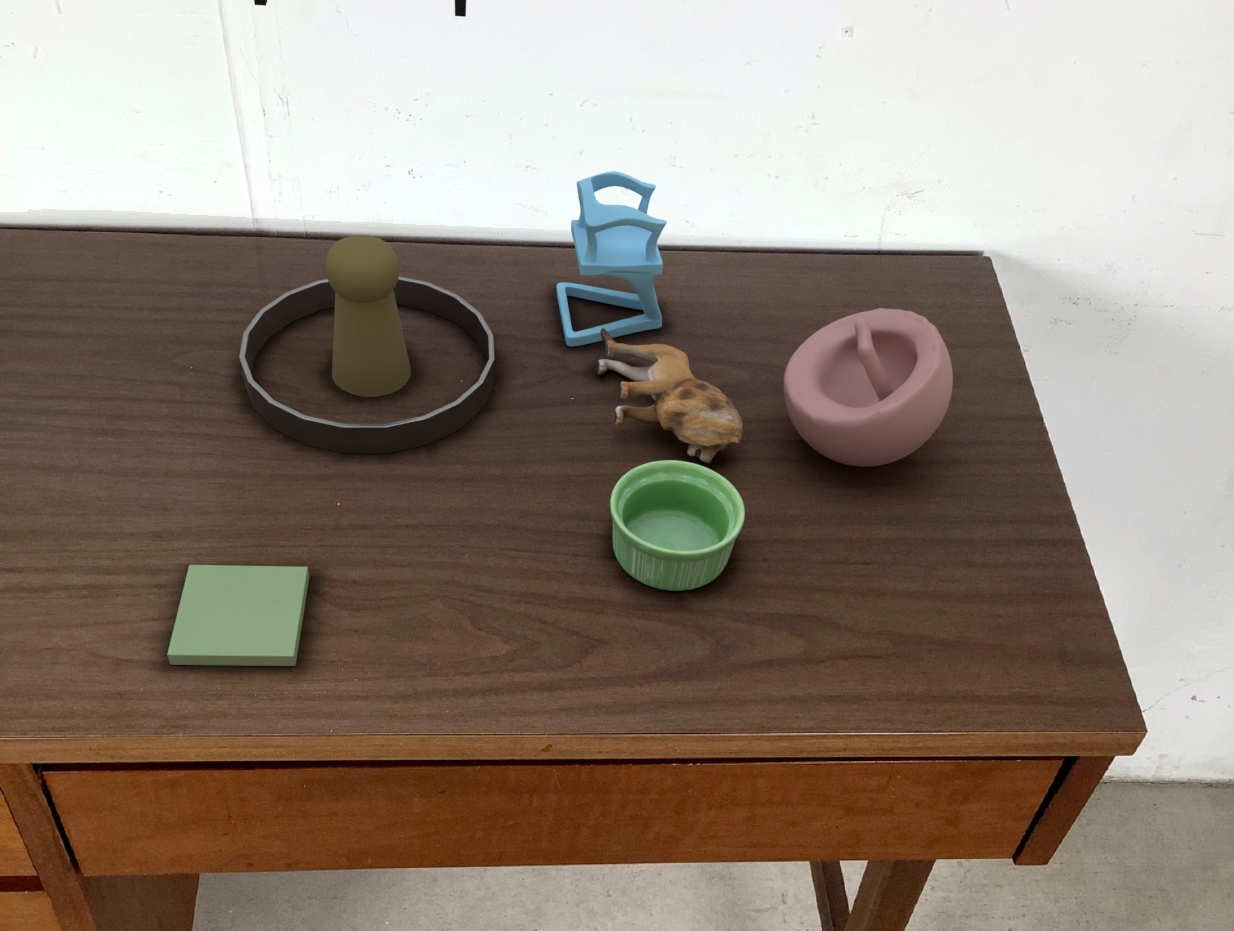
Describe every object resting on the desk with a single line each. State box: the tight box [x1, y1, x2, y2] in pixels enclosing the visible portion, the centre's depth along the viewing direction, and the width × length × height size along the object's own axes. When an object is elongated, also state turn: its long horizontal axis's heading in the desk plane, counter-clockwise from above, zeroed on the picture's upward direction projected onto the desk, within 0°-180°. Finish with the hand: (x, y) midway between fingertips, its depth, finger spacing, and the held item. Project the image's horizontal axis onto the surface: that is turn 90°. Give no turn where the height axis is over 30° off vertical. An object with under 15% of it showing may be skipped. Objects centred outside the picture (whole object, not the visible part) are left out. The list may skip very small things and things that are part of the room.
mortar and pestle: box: [782, 307, 954, 468], centre depth 89 cm, size 12×12×12 cm
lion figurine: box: [596, 328, 744, 464], centre depth 92 cm, size 15×5×9 cm
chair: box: [556, 170, 668, 347], centre depth 97 cm, size 8×8×12 cm
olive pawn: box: [324, 234, 412, 398], centre depth 90 cm, size 6×6×11 cm
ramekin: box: [609, 459, 746, 592], centre depth 82 cm, size 9×9×4 cm
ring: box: [238, 275, 495, 455], centre depth 93 cm, size 19×19×2 cm
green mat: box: [166, 564, 310, 667], centre depth 77 cm, size 8×8×1 cm
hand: (362, 3), depth 85 cm, fingers open, 13 cm apart
